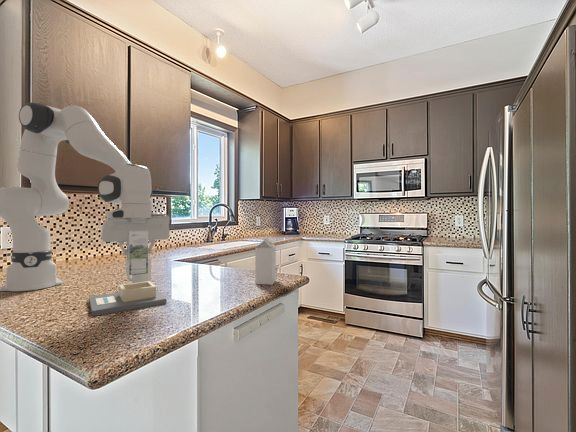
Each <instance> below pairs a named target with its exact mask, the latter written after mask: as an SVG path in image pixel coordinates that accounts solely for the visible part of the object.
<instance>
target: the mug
mask: <svg viewBox="0 0 576 432" xmlns="http://www.w3.org/2000/svg"><path fill="white" fill-rule="evenodd" d="M125 272H126V273H125V274H126V277H127V280H128V282H131V283H138V282H146V281H150V282H152V256H148V273H147V274H138V275H129V274H128V273H127V266H125Z"/></svg>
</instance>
